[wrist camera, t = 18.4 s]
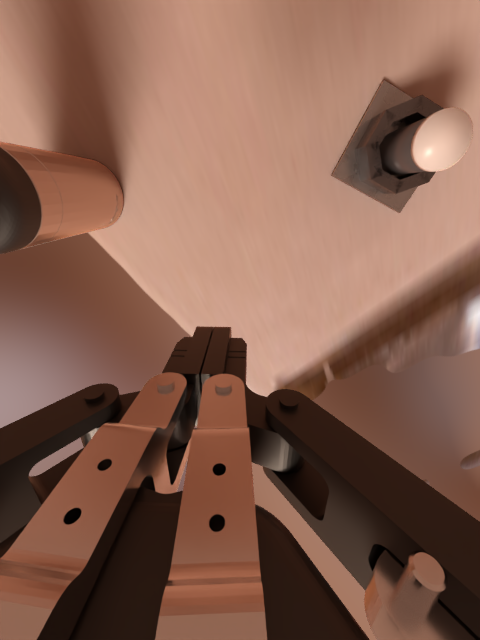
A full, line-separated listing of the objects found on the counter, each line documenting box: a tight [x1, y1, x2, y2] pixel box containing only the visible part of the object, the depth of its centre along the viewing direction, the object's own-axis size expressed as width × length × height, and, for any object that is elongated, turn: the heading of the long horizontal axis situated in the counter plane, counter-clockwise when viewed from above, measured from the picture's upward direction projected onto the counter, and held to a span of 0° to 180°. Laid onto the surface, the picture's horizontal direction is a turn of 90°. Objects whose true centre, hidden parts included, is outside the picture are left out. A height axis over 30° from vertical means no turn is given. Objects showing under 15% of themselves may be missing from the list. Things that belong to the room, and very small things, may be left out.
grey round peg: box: [379, 107, 473, 175], centre depth 31 cm, size 5×5×10 cm
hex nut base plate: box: [331, 80, 443, 213], centre depth 34 cm, size 11×11×4 cm
